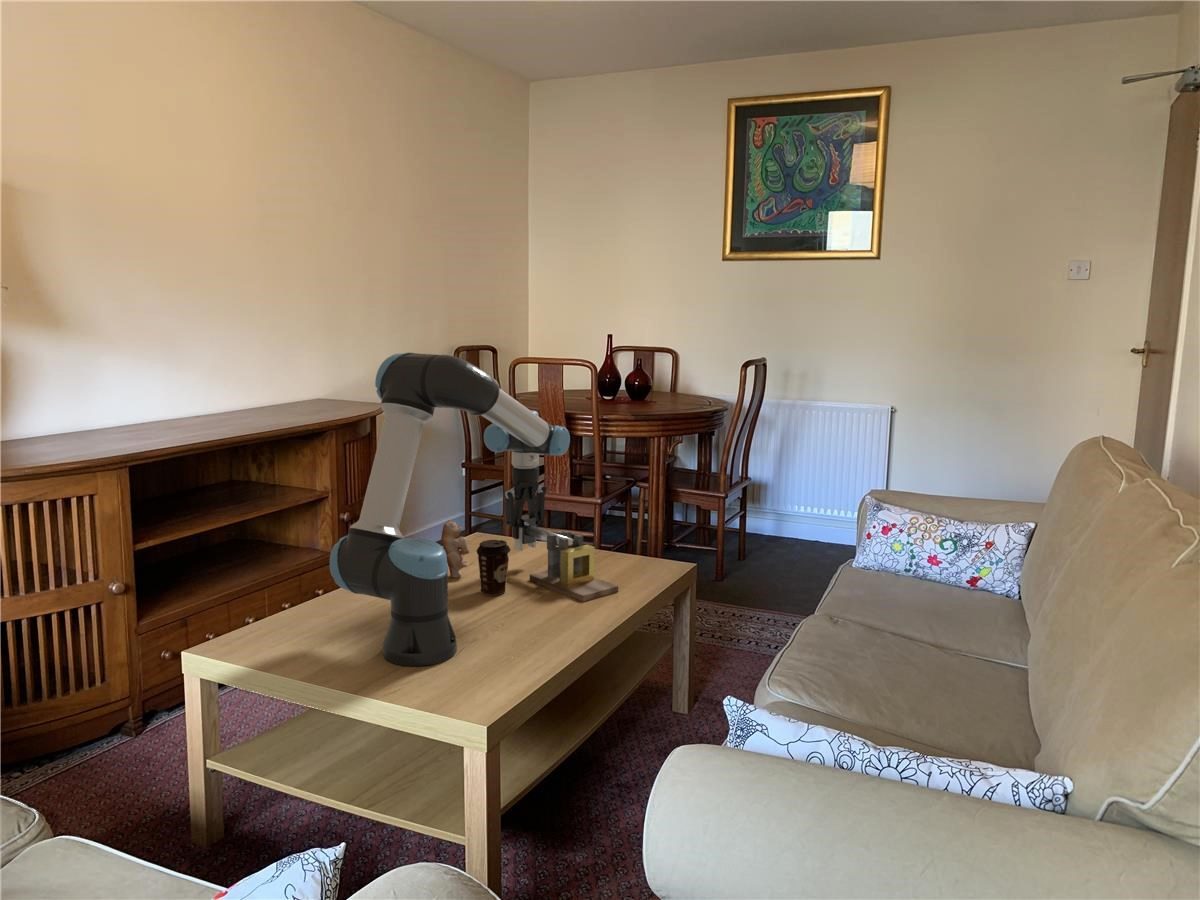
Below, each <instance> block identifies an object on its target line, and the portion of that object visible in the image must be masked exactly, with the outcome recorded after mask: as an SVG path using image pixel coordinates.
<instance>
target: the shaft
mask: <svg viewBox="0 0 1200 900" xmlns="http://www.w3.org/2000/svg"><path fill="white" fill-rule="evenodd" d="M520 527H522V545H528V543H533V542H536V543H537V540H539V541H542V542H545V543H547V534H554V535H556V547H559V538H567V539H568V549H569V548H574V547H575V546H576V541H575V540H574V538H572V537H571V538H568V537H565V536H562V534H558V533H555V532H552V531H549V530H546V529H543V528H540V527H538V528H537V527H536V518H535V517H532V516H529V515H528V514H525V515H522V518H521V524H520Z"/></svg>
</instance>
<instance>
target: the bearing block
mask: <svg viewBox="0 0 1200 900" xmlns="http://www.w3.org/2000/svg"><path fill="white" fill-rule="evenodd" d="M561 535H562V536H565V537H568V538H571V539H572V531H570V530H563V531H561ZM573 539H574V540H575V541H576V546H575V547H578V546H583V545H584V535H581V534H574V535H573ZM565 549H568V539H567V538H559V546H556V535H554V534H547V542H546V550H547V570H543V571H539V572H536V573H532V574H529V581H531V582H533V583H536V584H538V585H541V586H544V587H546V588H548V589H550V590H554V591H555V592H559V593H560V594H563V595H566V596H568V597H571V598H573V599H576V600H578V601H580V602H583V603H584V602H586V601H590V600H594V599H597V598H601V597H604V596H607V595H612V594H615V593H618V592H619V586H618V585H616V584H614V583H610V582H608V581H605V580H603V579H601V578H597V577H595V576H594V580H592V581H588V582H584V583H581V584H577V585H573V586H569V587H567V586H564V585H562V584H561V550H565ZM580 572H582V556H581V557H577V558H573V574H576V573H580Z"/></svg>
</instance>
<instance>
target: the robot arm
mask: <svg viewBox="0 0 1200 900" xmlns="http://www.w3.org/2000/svg"><path fill="white" fill-rule="evenodd" d="M374 385H375V388H376V390H375V391H376V394H377V396H378V397H379V399H380V400H381V403H380V408H381V410H382V412H384V419H383V423H382V427H381V430H380V431H381V432H380V435H379V438H378V443H377V447H376V451H375V455H374V459H373V462H372V467H371V471H370V475H369V478H368V483H367V488H366V491H365V494H364V500H363V504H362V507H361V511H360V514H359V519H358V520H357V521H356V522H355V523H353V524H351V525H350V526H349V529H348V533H347V535H345V536H343V537H340V538H339V540H337V543H335V544H334V545H333V548H331V552H330V556H329V571H330V574H331V577H332V578H333V580H334V583H335V584H336V585H337V586H338V587H340V588H341V589H343V590H345V591H350V592H351V593H353V594H358V595H365V596H370V597H374V598H379V599H384V600H386V601H387V600H389V601H390V622H389V624H388V628H387V631H386V634H385V637H384V640H383V645H382V651H383V658H384V659H385V660H386V661H387V662H389V663H392V664H394V665H398V666H406V667H423V666H424V667H425V666H429V665H430V666H431V665H436V664H439V663H443V662H444V661H446V660H449V659H451V658H452V657H454V655H456V653H457V652H458V651H457V650H458V645H457V641H458V640H457V637H456V635H455V632H454V628H453V626H452V623H451V620H450V617H449V608H448V607H449V605H448V602H449V600H448V599H449V597H448V596H449V595H448V594H449V593H448V591H449V587H448V586H449V585H448V583H449V581H448V580H449V579H448V578H449V577H448V576H449V575H448V572H449V567H448V563H447V555H446V552H445V550H444V548H443V545H442V544H439V543H437V542H435V541H433V540H429V539H426V538H414V537H407V538H406V537H404V536H403V535H402V534H403V533H401V531H400V524H401V521H402V517H403V513H404V508H405V503H406V499H407V496H408V491H409V487H410V483H411V479H412V474H413V470H414V466H415V462H416V459H417V453H418V449H419V445H420V441H421V437H422V432H423V428H424V425H425V424H426V423H427V422H430V421H431V420H432V419H433V417H434V412H435V409H436V408H440V409H441V408H444V409H455V410H459V411H460V410H461V411H464V412H467V413H468V414H470V415H472V416H476V417H478V416H481V417H482V418H485V419H486V420H488V421H489V422H491V424H490V425H488V426H487V427H486V428H485V429H484V433H483V441H484V444H485V446H486V447H487V449H488V450H490V452H494V453H503V452H506V451H510V452H511V465H512V467H511V481H512V485H511V488H510V489H509V490H503V496H504V499H505V500H504V501H505V524H506V526H510V527H512V538H513V539H514V550H517V551H519V552H521V551H523V544H522V527H520V524H521V518H522V516H523V510H524V506H525V503H527V509H528V514H529V516H532V517H535V518H536V527H537V528H539V526H540V525H541V523H542V522H543V521H544V520H545V501H546V499H545V498H546V493H547V490H548V488H547V486H544V485H540V483H539V479H540V467H539V464H540V455H545V456H546V455H549V456H551V457H553V456H563V455H565V454H566V453H567V451H568V450H569V447H570V443H571V436H570V432H569V430H568V429H567V428H566V427H565V426H559V425H557V424H556V425H552V424H550V423H549V422H547V421H546V420H544V419H543V418H541V417H540V416H539V413H538V411H536V410H532V409H531V410H530V409H528V407H526V406H525V405H524V404H522V403H520V402H519V401H517V400H516V399H515V398H513V397H512V396H511V395H510V394H508V393H506V392H505V391H504V390H503V389H501V388H500V385H499V383H498V381H497V380H496V379H495V378H494V377H492V375H490V374H488V373H487V372H486V371H484V370H482V369H481V368H479V367H478V366H476V365H474V364H472V363H471V362H469V361H468V360H465V359H463V358H459V357H457V356H454V355H449V354H435V353H434V354H431V353H415V352H404V353H394V354H392V355H390V356H388V357H387V358H385V359H384V361H383V362H382V363H381V364H380V366H379V367H378V370H377V372H376V375H375V383H374ZM527 546H528V547H530V548H532V549H536V548H537V541H536V542H533V543H528V544H527Z"/></svg>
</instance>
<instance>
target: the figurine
mask: <svg viewBox="0 0 1200 900" xmlns="http://www.w3.org/2000/svg"><path fill="white" fill-rule="evenodd" d="M462 528H463V527H462V526H460V525H457V523H456V522H455V521H453V520H452V519H449V520H447V521H446V522H445V523H444V525H443V527H442V531H441V546H442V547H443V548H444V550H445V552H446V555H447V564H448V571H449V574H450V578H453V579H454V578H458V577H461V574H460V573H459V571H460V570H462V569H463V568H466V567H469V566H470V562H469V561H465V558H464V556H466V555H468V554H470V550H469V547H468V542H467V540H466V537H465V536H460V534H461V532H462V531H463V530H462Z"/></svg>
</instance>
